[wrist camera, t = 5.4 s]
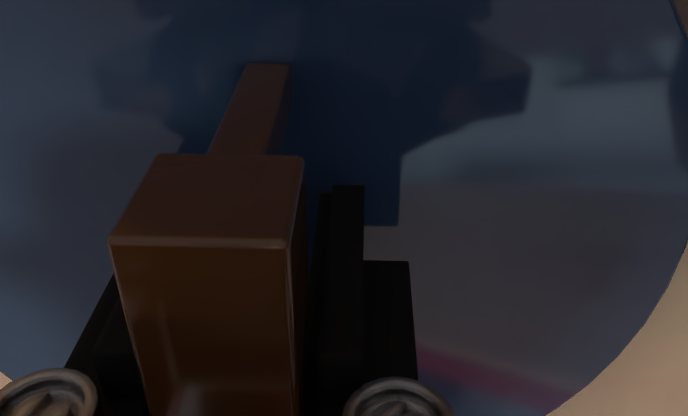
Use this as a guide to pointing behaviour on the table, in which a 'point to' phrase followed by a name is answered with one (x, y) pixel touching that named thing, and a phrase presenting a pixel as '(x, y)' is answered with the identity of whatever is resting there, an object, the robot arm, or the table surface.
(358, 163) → the lid
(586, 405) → the table surface
